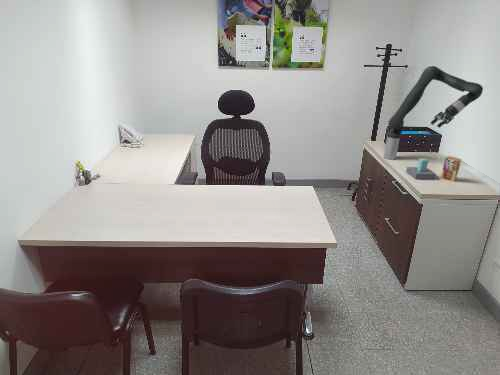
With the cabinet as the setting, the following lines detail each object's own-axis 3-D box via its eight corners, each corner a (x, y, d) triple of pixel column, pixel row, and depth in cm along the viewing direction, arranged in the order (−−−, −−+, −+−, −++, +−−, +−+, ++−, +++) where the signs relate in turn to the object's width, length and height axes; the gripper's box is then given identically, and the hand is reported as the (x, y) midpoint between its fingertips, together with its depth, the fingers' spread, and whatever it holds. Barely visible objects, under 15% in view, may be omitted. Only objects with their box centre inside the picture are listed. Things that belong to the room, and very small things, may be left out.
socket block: (405, 172, 260) (407, 166, 258) (424, 172, 261) (425, 167, 259) (415, 179, 247) (416, 173, 245) (435, 179, 248) (436, 173, 246)
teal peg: (416, 173, 255) (419, 158, 251) (422, 173, 256) (425, 158, 251) (419, 175, 251) (422, 160, 247) (425, 175, 252) (428, 160, 247)
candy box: (456, 180, 248) (462, 159, 242) (453, 181, 245) (459, 160, 239) (443, 176, 254) (448, 155, 248) (440, 177, 251) (445, 156, 245)
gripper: (446, 102, 248) (426, 119, 252) (458, 106, 235) (437, 123, 239) (451, 110, 250) (432, 126, 254) (464, 114, 237) (443, 131, 241)
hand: (434, 125), depth 246 cm, fingers open, 8 cm apart
